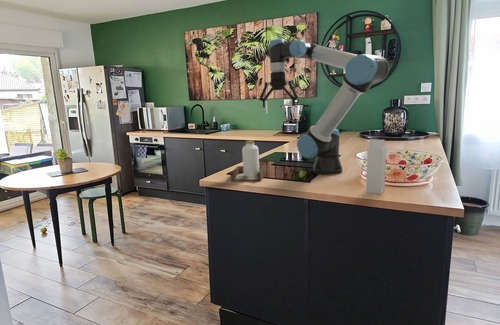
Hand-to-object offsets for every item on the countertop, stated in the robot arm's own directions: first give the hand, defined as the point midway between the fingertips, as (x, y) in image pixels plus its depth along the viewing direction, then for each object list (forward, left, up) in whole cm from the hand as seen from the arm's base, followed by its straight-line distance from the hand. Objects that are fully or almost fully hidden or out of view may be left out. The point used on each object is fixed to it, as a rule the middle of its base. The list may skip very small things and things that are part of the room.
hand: (279, 113), depth 167 cm
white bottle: (+13, +14, -31) cm, 36 cm away
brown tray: (+15, +14, -32) cm, 38 cm away
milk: (-44, +33, -32) cm, 64 cm away
